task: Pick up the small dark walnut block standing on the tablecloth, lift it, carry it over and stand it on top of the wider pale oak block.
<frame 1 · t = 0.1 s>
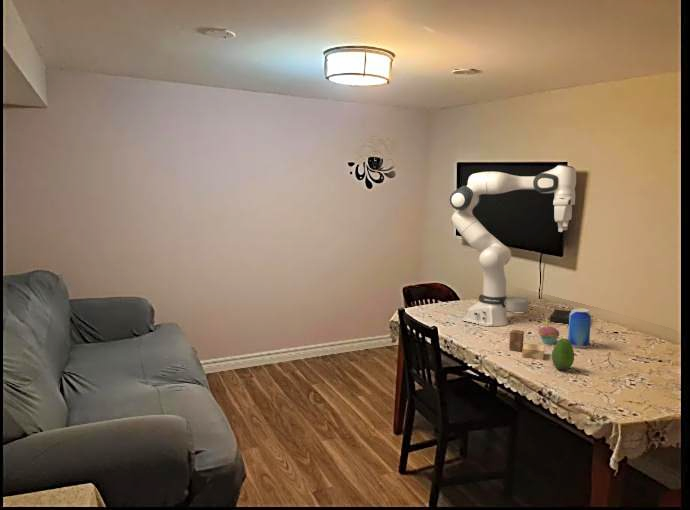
hand: (562, 230, 243), 48 cm above the table, tool pointing down, fingers open, 8 cm apart
ramekin: (516, 311, 290), on the table
avocado: (561, 369, 199), on the table
oak block: (533, 356, 215), on the table
beer can: (578, 346, 228), on the table
cupcake: (548, 343, 232), on the table
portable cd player: (570, 322, 268), on the table
walnut block: (516, 349, 222), on the table
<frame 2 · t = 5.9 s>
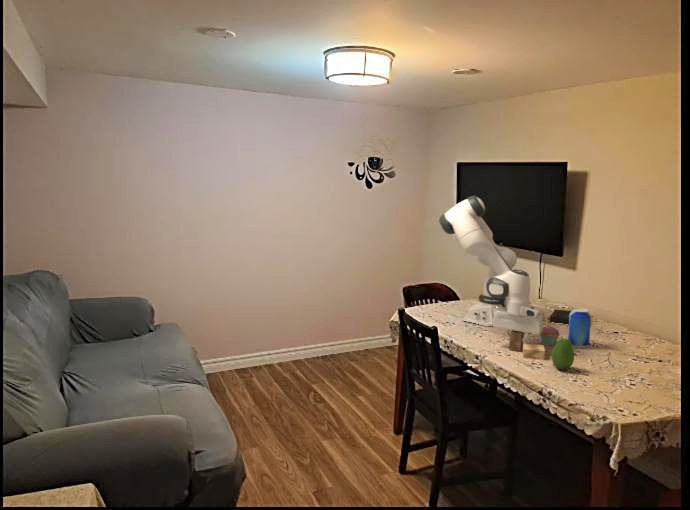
hand: (516, 340, 222), 4 cm above the table, tool pointing down, fingers closed on walnut block, 4 cm apart
walnut block: (516, 349, 222), on the table, touching gripper
everything else where it was.
when the fingers open (9 cm above the table, at t = 10.3 s): walnut block drops 2 cm, resting on oak block.
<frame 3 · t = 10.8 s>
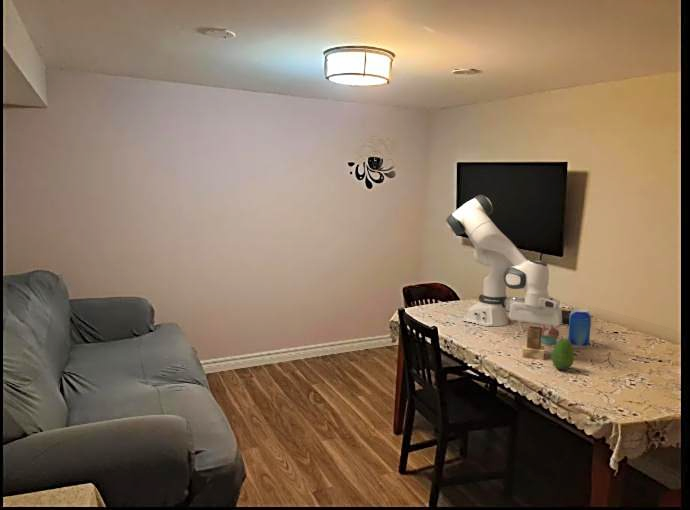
hand: (534, 333, 214), 9 cm above the table, tool pointing down, fingers open, 8 cm apart
oak block: (533, 356, 215), on the table, touching walnut block
walnut block: (533, 347, 214), point 4 cm above the table, touching oak block
everything else where it was.
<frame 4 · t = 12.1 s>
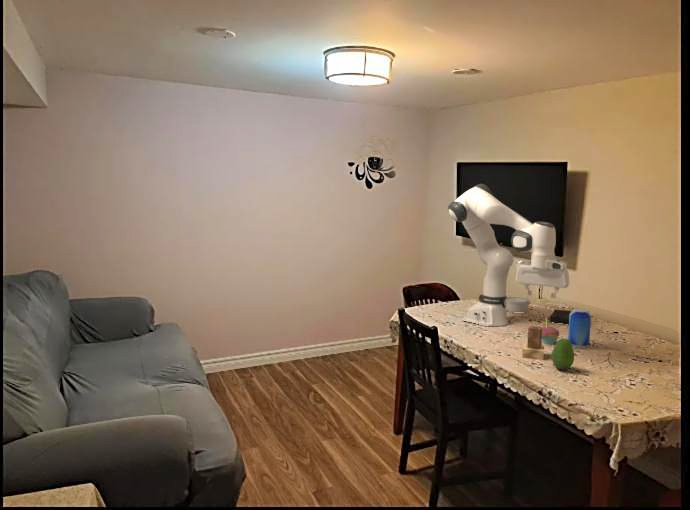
hand: (541, 296, 213), 24 cm above the table, tool pointing down, fingers open, 8 cm apart
nothing on the table moved.
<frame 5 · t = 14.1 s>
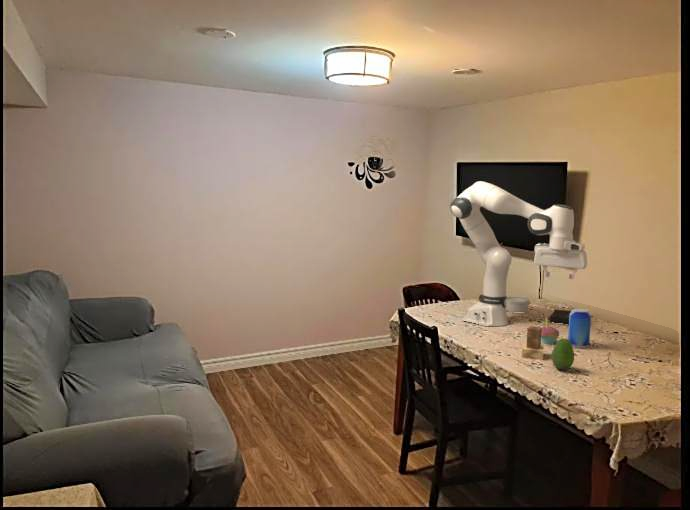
hand: (559, 277, 217), 31 cm above the table, tool pointing down, fingers open, 8 cm apart
nothing on the table moved.
at the end: walnut block 0.4 cm off-centre on the oak block, point 4.0 cm above the oak block's base; walnut block tilted 0°; the gripper is holding nothing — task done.
